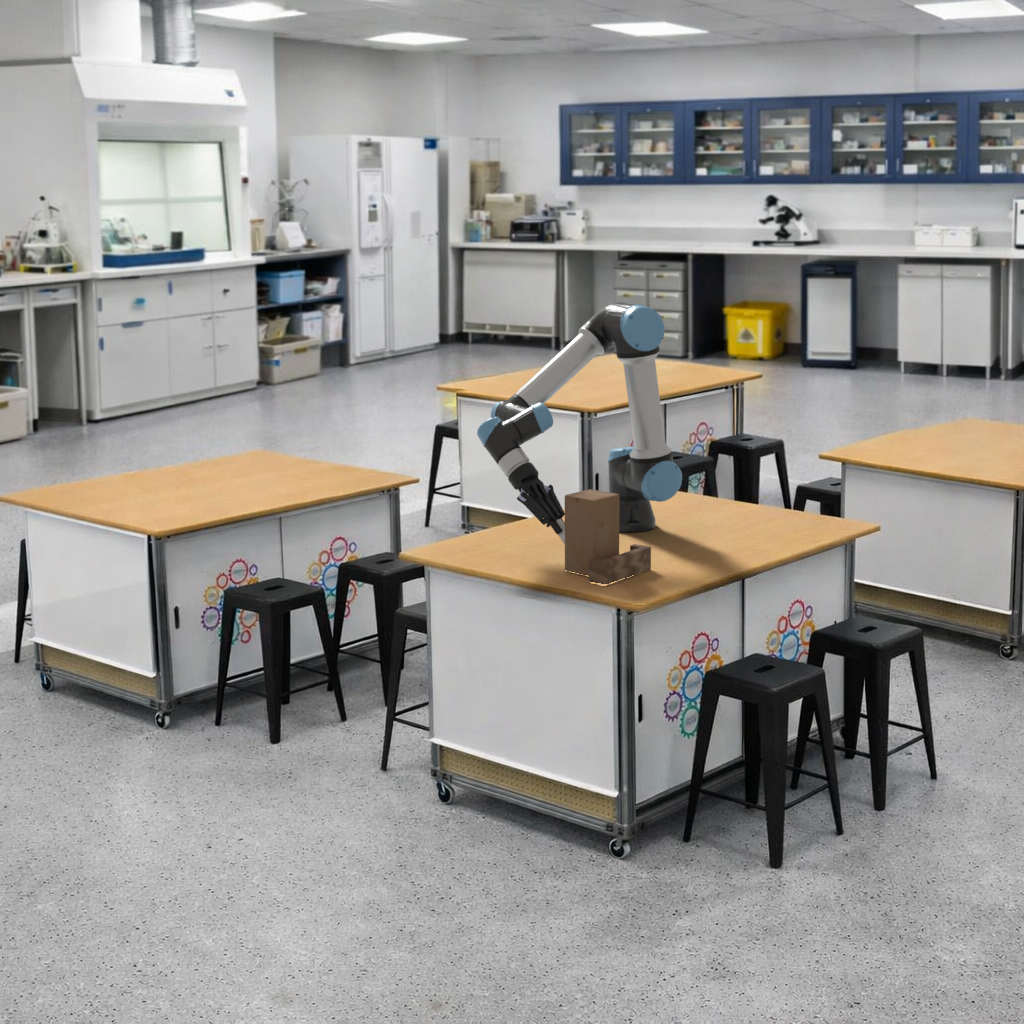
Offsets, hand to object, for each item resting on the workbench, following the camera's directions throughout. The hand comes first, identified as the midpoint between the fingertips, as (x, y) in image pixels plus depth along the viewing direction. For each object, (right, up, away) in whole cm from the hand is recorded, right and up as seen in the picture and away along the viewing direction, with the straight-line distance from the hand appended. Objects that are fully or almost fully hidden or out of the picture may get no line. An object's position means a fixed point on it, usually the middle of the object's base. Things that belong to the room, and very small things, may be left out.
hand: (570, 542), depth 367 cm
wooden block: (+5, -8, -2) cm, 10 cm away
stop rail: (+12, -8, -7) cm, 16 cm away
